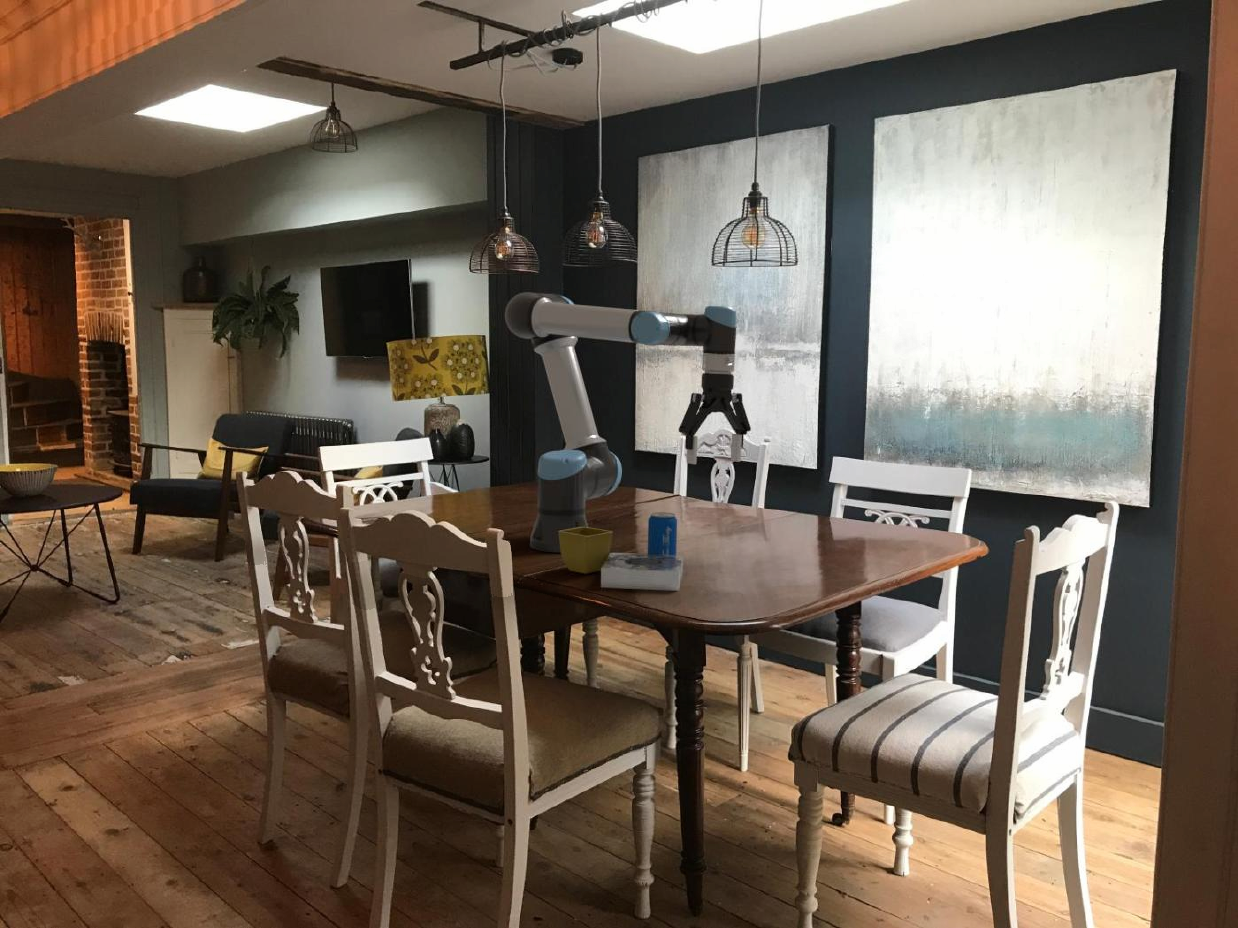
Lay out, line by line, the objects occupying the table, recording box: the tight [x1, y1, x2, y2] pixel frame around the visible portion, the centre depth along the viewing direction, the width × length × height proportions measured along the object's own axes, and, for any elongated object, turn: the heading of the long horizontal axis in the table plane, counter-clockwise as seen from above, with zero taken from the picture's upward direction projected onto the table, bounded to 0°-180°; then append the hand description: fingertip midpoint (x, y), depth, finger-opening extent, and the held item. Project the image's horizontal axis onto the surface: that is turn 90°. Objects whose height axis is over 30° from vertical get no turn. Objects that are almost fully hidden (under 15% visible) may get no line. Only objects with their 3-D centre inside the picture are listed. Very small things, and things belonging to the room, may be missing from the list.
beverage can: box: [647, 511, 678, 555], centre depth 225 cm, size 6×6×12 cm
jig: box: [600, 552, 684, 592], centre depth 212 cm, size 16×16×4 cm
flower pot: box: [558, 526, 614, 575], centre depth 220 cm, size 9×9×9 cm
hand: (713, 462), depth 237 cm, fingers open, 13 cm apart
